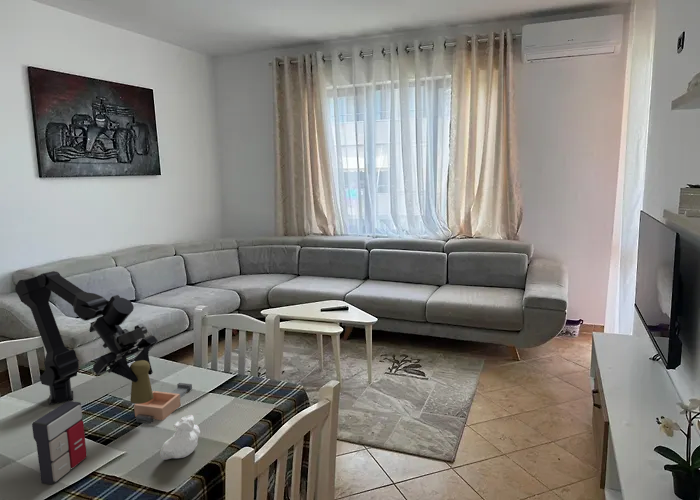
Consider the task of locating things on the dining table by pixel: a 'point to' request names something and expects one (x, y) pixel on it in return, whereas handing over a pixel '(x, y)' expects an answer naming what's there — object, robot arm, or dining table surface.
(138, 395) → the cork
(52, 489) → the dining table surface
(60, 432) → the calculator
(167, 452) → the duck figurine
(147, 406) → the tray
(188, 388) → the rail
